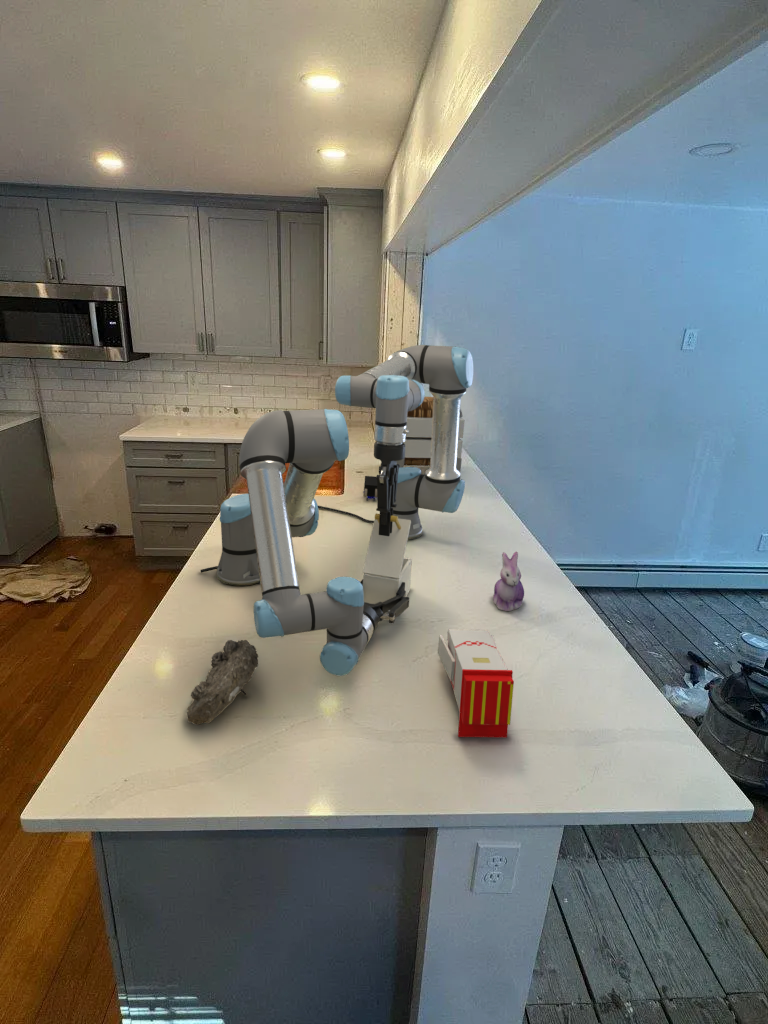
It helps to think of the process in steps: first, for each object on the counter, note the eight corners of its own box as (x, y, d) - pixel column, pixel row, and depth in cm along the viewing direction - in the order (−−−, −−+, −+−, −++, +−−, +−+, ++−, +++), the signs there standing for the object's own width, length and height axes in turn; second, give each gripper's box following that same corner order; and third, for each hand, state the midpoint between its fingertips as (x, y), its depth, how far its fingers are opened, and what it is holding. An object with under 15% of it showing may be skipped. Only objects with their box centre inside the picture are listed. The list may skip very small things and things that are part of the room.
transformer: (382, 463, 289) (386, 382, 275) (445, 464, 293) (451, 384, 279) (390, 482, 257) (394, 392, 243) (460, 483, 261) (468, 394, 247)
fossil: (208, 642, 124) (257, 611, 119) (238, 671, 127) (287, 641, 122) (164, 718, 104) (221, 685, 99) (200, 750, 107) (257, 719, 102)
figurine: (506, 615, 149) (513, 563, 144) (482, 598, 157) (488, 548, 152) (534, 608, 153) (541, 558, 148) (509, 592, 161) (516, 543, 156)
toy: (488, 613, 130) (523, 677, 101) (484, 667, 133) (517, 744, 104) (435, 612, 130) (455, 676, 101) (432, 666, 133) (451, 743, 103)
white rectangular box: (376, 516, 151) (369, 504, 143) (411, 521, 149) (406, 509, 141) (363, 573, 146) (355, 564, 138) (399, 579, 144) (393, 570, 136)
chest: (377, 584, 163) (378, 553, 159) (409, 589, 160) (412, 558, 157) (361, 609, 149) (363, 575, 146) (397, 615, 147) (398, 581, 144)
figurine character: (379, 506, 231) (378, 490, 244) (379, 489, 227) (379, 474, 241) (362, 505, 230) (363, 490, 244) (363, 488, 227) (363, 474, 240)
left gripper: (313, 631, 133) (344, 589, 154) (404, 649, 128) (424, 603, 148) (313, 603, 131) (345, 564, 151) (406, 619, 125) (426, 577, 146)
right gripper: (397, 450, 128) (392, 546, 136) (411, 437, 141) (406, 526, 149) (365, 446, 130) (362, 541, 138) (383, 434, 143) (379, 522, 151)
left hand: (384, 583), depth 150 cm, fingers closed on chest, 10 cm apart
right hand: (385, 533), depth 143 cm, fingers closed on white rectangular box, 1 cm apart
